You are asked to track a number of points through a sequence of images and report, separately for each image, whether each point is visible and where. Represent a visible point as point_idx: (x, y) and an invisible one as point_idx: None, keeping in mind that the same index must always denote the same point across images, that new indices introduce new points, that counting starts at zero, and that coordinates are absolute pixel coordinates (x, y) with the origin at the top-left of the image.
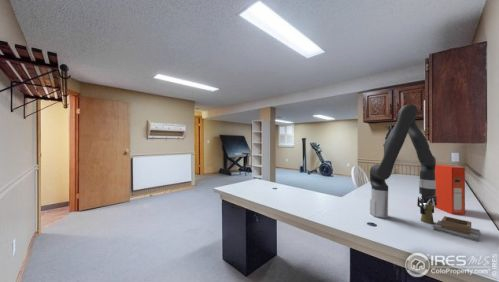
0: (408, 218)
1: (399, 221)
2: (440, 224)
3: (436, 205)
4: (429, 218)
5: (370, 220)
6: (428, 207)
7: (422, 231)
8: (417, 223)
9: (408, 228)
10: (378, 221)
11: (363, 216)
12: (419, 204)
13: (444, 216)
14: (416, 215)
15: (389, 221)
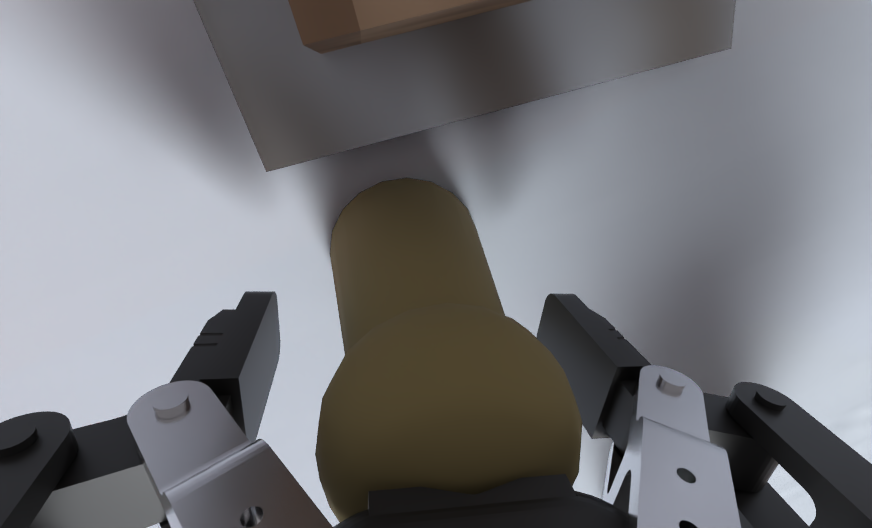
0: None
1: (696, 352)
2: (488, 50)
3: (26, 418)
4: (466, 230)
5: (862, 425)
6: (558, 365)
7: (862, 89)
8: (599, 258)
9: (860, 207)
10: (843, 398)
11: (798, 490)
12: (740, 501)
13: (341, 29)
14: (269, 423)
15: (772, 376)
